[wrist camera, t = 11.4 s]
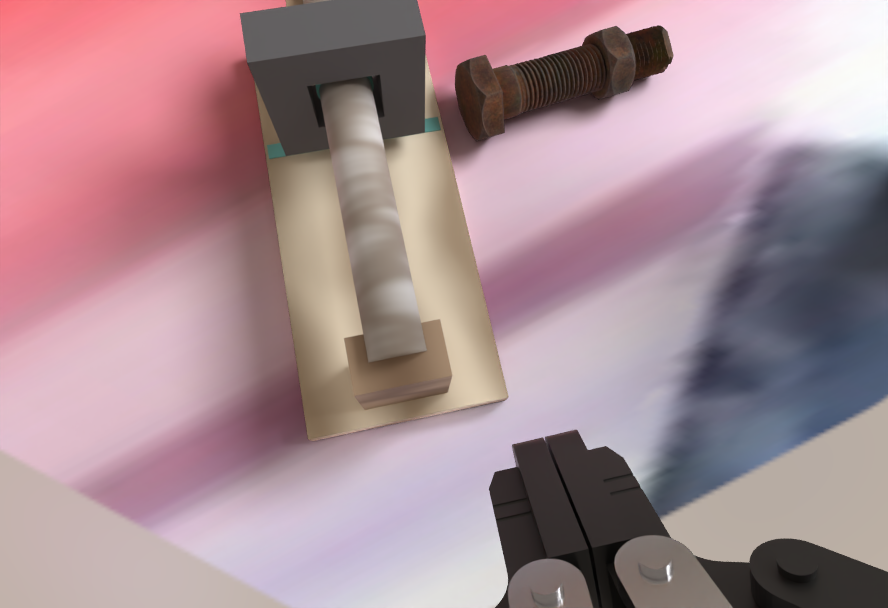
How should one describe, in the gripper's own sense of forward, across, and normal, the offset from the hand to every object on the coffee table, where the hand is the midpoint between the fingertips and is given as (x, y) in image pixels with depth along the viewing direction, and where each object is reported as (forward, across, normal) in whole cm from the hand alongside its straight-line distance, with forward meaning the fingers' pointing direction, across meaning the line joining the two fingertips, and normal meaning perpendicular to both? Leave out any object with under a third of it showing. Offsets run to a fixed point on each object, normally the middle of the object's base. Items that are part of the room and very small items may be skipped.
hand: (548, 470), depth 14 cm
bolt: (+35, -10, -5) cm, 37 cm away
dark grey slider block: (+30, +5, -7) cm, 31 cm away
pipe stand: (+30, +5, -1) cm, 30 cm away
